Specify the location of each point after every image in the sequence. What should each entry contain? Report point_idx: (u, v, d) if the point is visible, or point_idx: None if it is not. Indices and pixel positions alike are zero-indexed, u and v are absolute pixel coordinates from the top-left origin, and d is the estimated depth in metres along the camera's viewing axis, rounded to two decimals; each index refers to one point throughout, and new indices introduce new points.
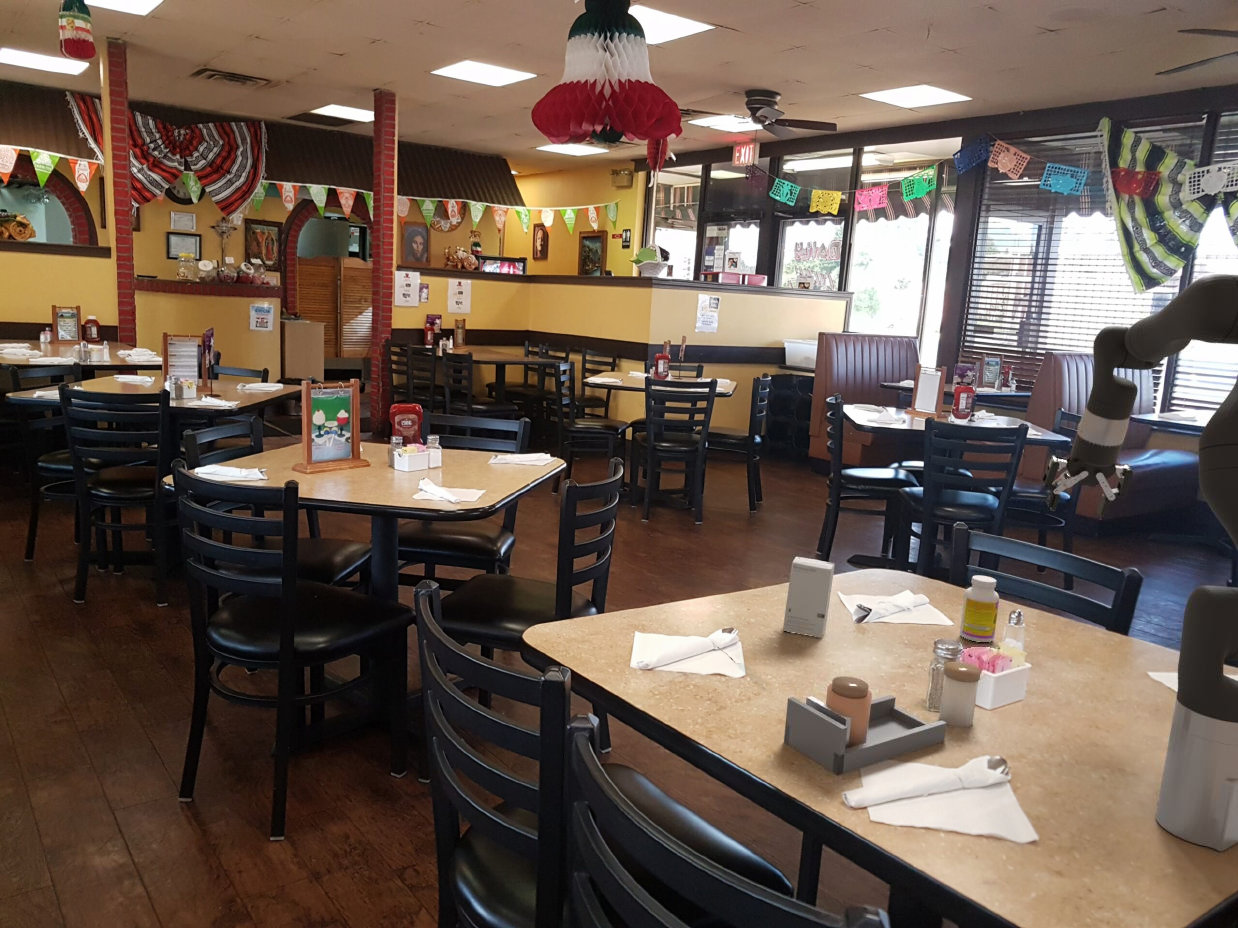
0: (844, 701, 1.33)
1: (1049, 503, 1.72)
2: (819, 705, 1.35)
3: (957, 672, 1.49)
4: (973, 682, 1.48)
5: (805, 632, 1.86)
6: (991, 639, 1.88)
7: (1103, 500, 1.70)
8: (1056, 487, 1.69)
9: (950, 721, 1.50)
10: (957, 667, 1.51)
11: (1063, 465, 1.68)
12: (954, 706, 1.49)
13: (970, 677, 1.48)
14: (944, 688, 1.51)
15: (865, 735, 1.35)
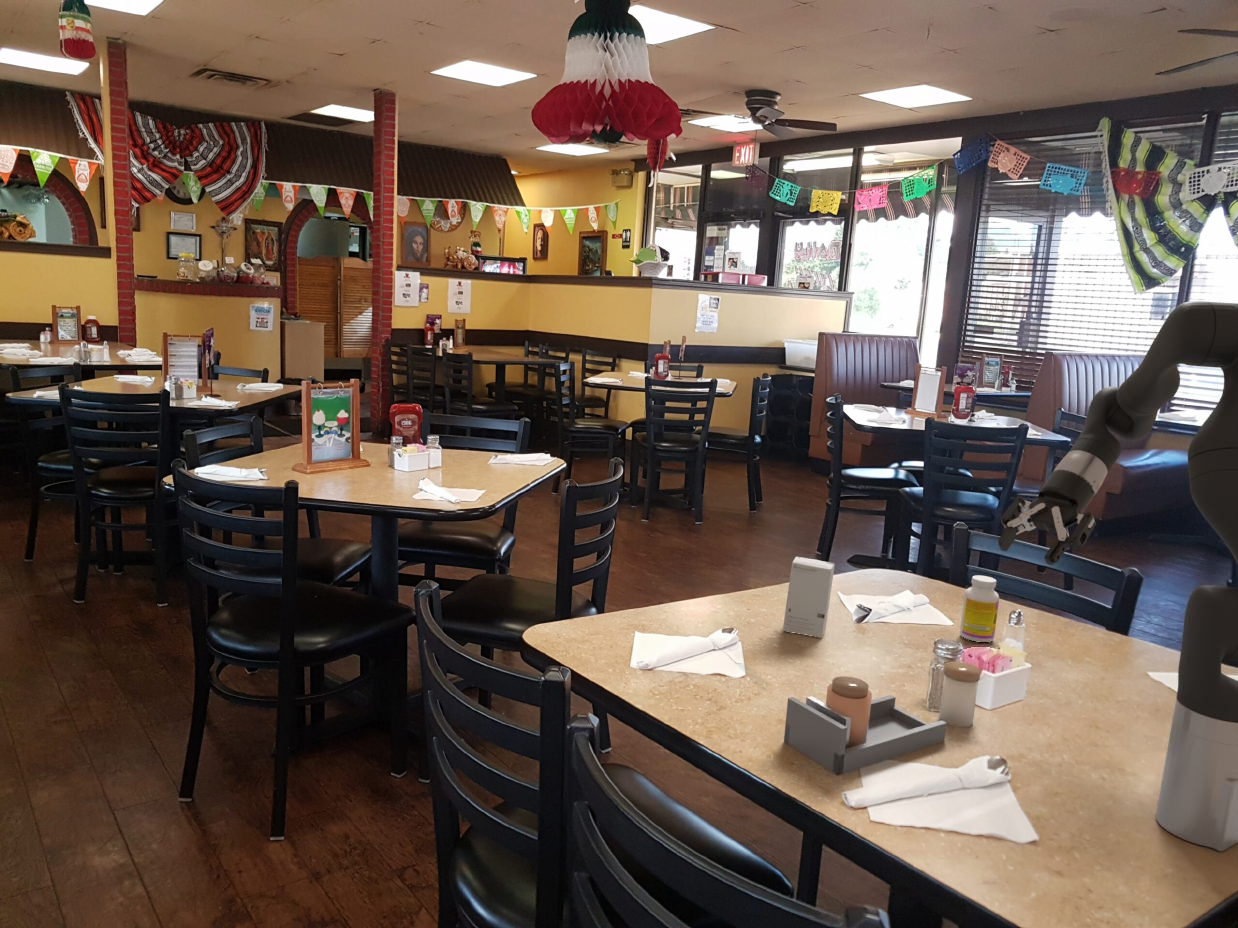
0: (844, 701, 1.33)
1: (1000, 538, 1.58)
2: (819, 705, 1.35)
3: (957, 672, 1.49)
4: (973, 682, 1.48)
5: (805, 632, 1.86)
6: (991, 639, 1.88)
7: None
8: None
9: (950, 721, 1.50)
10: (957, 667, 1.51)
11: (1027, 504, 1.60)
12: (954, 706, 1.49)
13: (970, 677, 1.48)
14: (944, 688, 1.51)
15: (865, 735, 1.35)
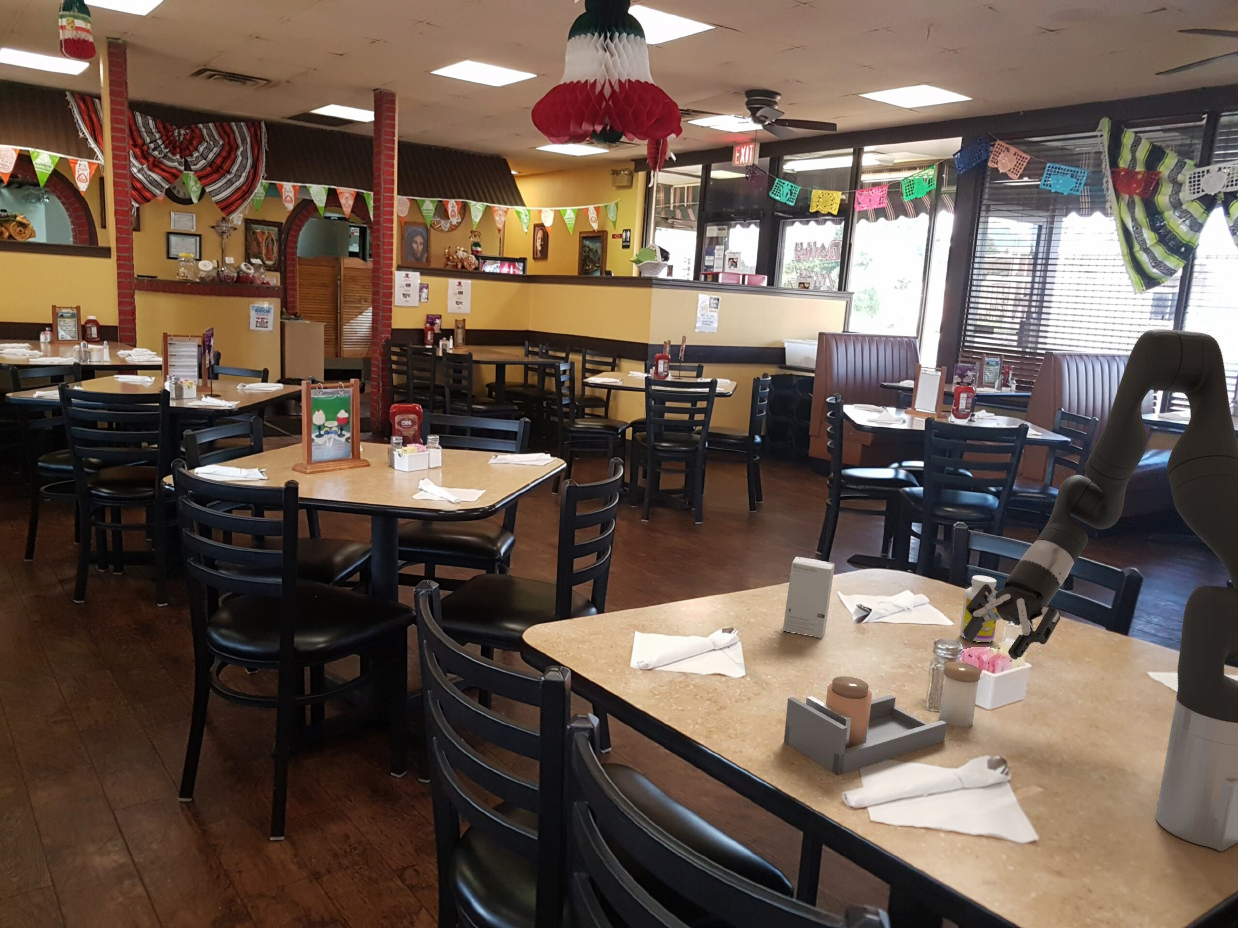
0: (844, 701, 1.33)
1: (965, 628, 1.58)
2: (819, 705, 1.35)
3: (957, 672, 1.49)
4: (973, 682, 1.48)
5: (805, 632, 1.86)
6: (991, 639, 1.88)
7: None
8: None
9: (950, 721, 1.50)
10: (957, 667, 1.51)
11: (994, 593, 1.59)
12: (954, 706, 1.49)
13: (970, 677, 1.48)
14: (944, 688, 1.51)
15: (865, 735, 1.35)
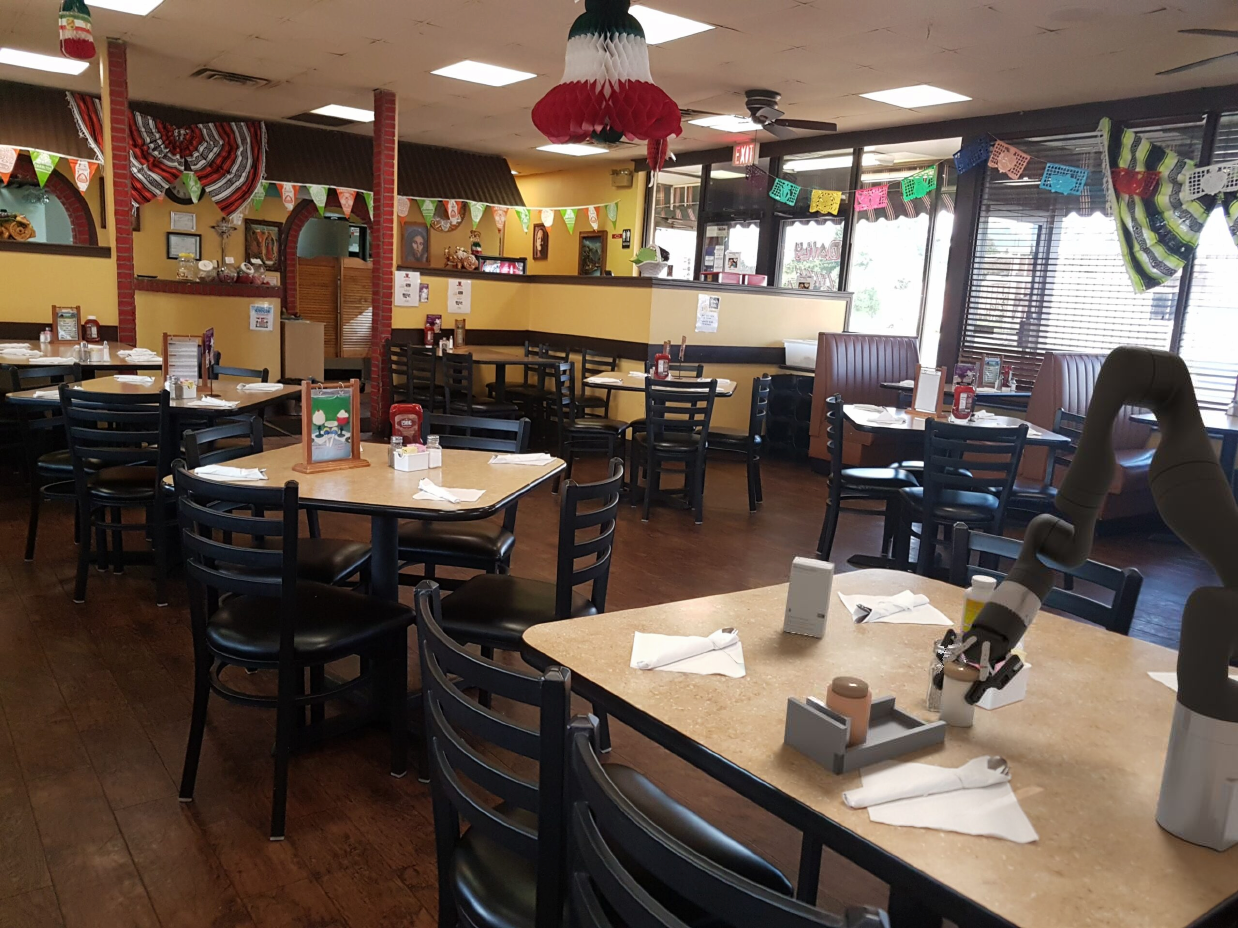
0: (844, 701, 1.33)
1: (935, 676, 1.53)
2: (819, 705, 1.35)
3: (957, 671, 1.49)
4: (973, 682, 1.48)
5: (805, 632, 1.86)
6: None
7: None
8: None
9: (950, 721, 1.50)
10: (957, 667, 1.51)
11: (959, 637, 1.56)
12: (954, 706, 1.49)
13: (970, 677, 1.48)
14: (944, 688, 1.51)
15: (865, 735, 1.35)
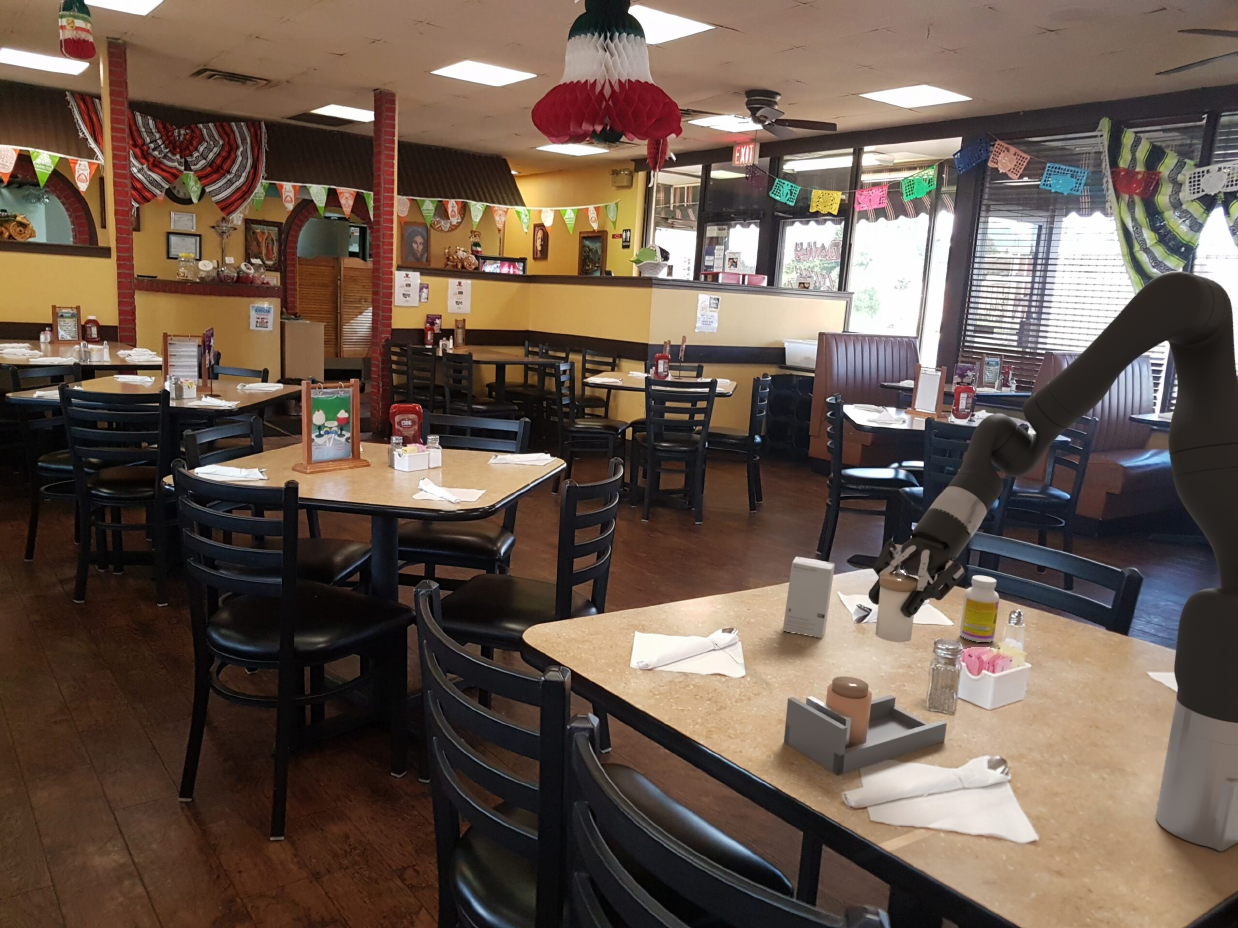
0: (844, 701, 1.33)
1: (871, 589, 1.41)
2: (819, 705, 1.35)
3: (892, 581, 1.36)
4: (910, 593, 1.36)
5: (805, 632, 1.86)
6: (991, 639, 1.88)
7: None
8: None
9: (886, 636, 1.37)
10: (894, 577, 1.38)
11: (899, 548, 1.44)
12: (889, 619, 1.37)
13: (906, 586, 1.35)
14: (880, 601, 1.38)
15: (865, 735, 1.35)
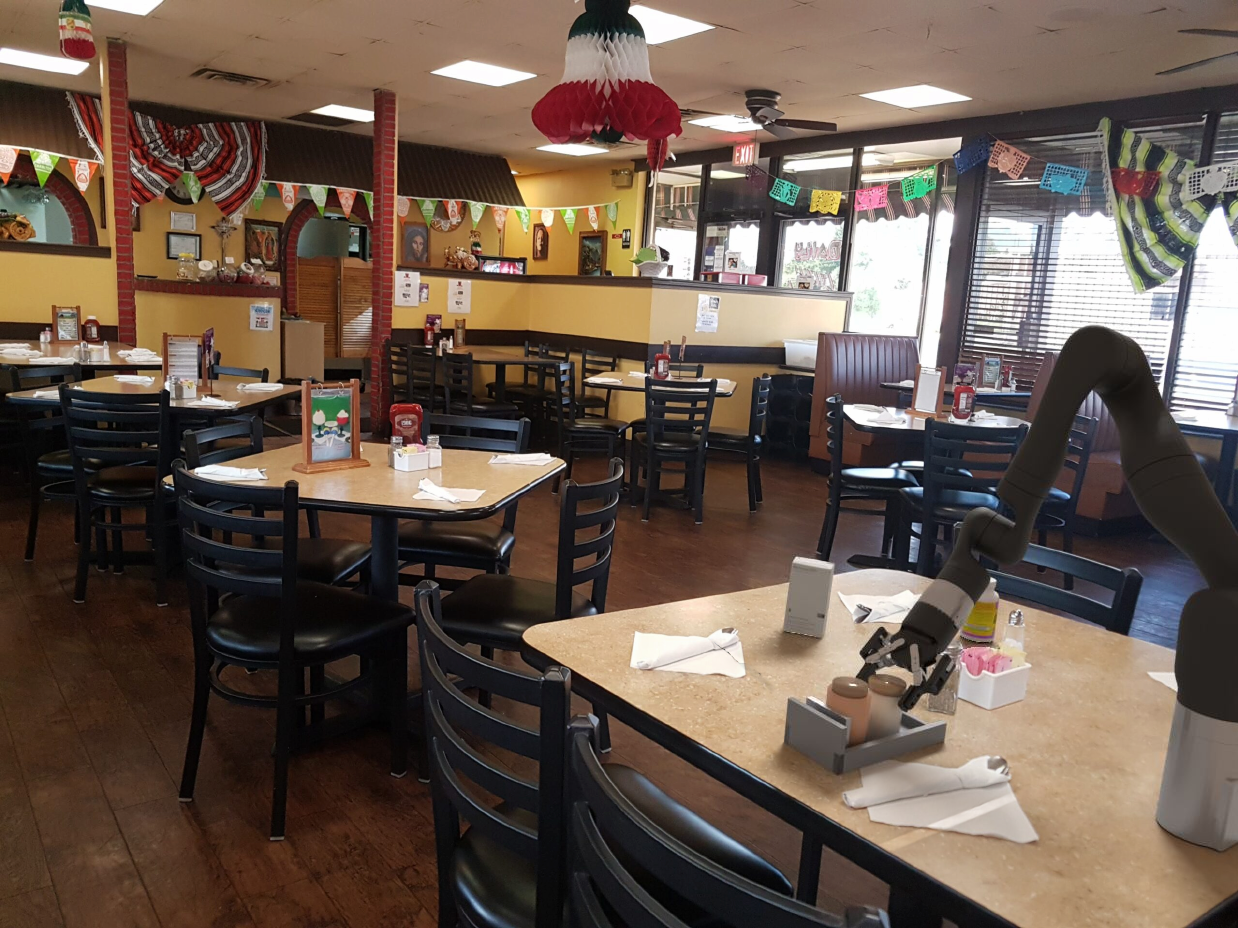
0: (844, 701, 1.33)
1: (857, 675, 1.44)
2: (819, 705, 1.35)
3: (881, 685, 1.39)
4: (898, 697, 1.38)
5: (805, 632, 1.86)
6: (991, 639, 1.88)
7: None
8: None
9: (874, 738, 1.40)
10: (882, 680, 1.41)
11: (889, 637, 1.46)
12: (878, 722, 1.39)
13: (894, 691, 1.38)
14: None
15: (865, 735, 1.35)
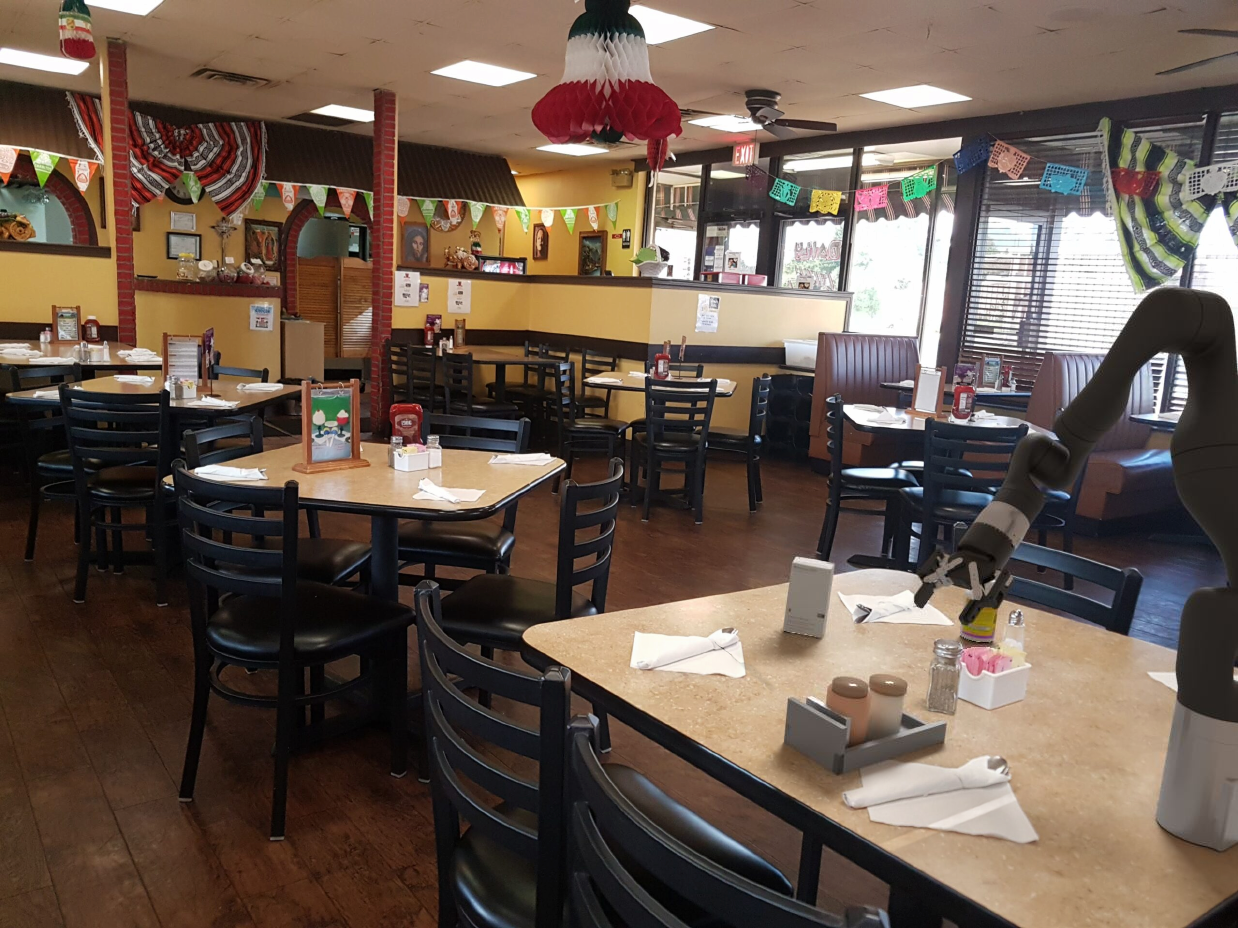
0: (844, 701, 1.33)
1: (916, 594, 1.49)
2: (819, 705, 1.35)
3: (881, 685, 1.39)
4: (899, 697, 1.39)
5: (805, 632, 1.86)
6: (991, 639, 1.88)
7: None
8: None
9: (874, 738, 1.40)
10: (883, 680, 1.41)
11: (946, 558, 1.50)
12: (878, 722, 1.39)
13: (895, 691, 1.38)
14: None
15: (865, 735, 1.35)
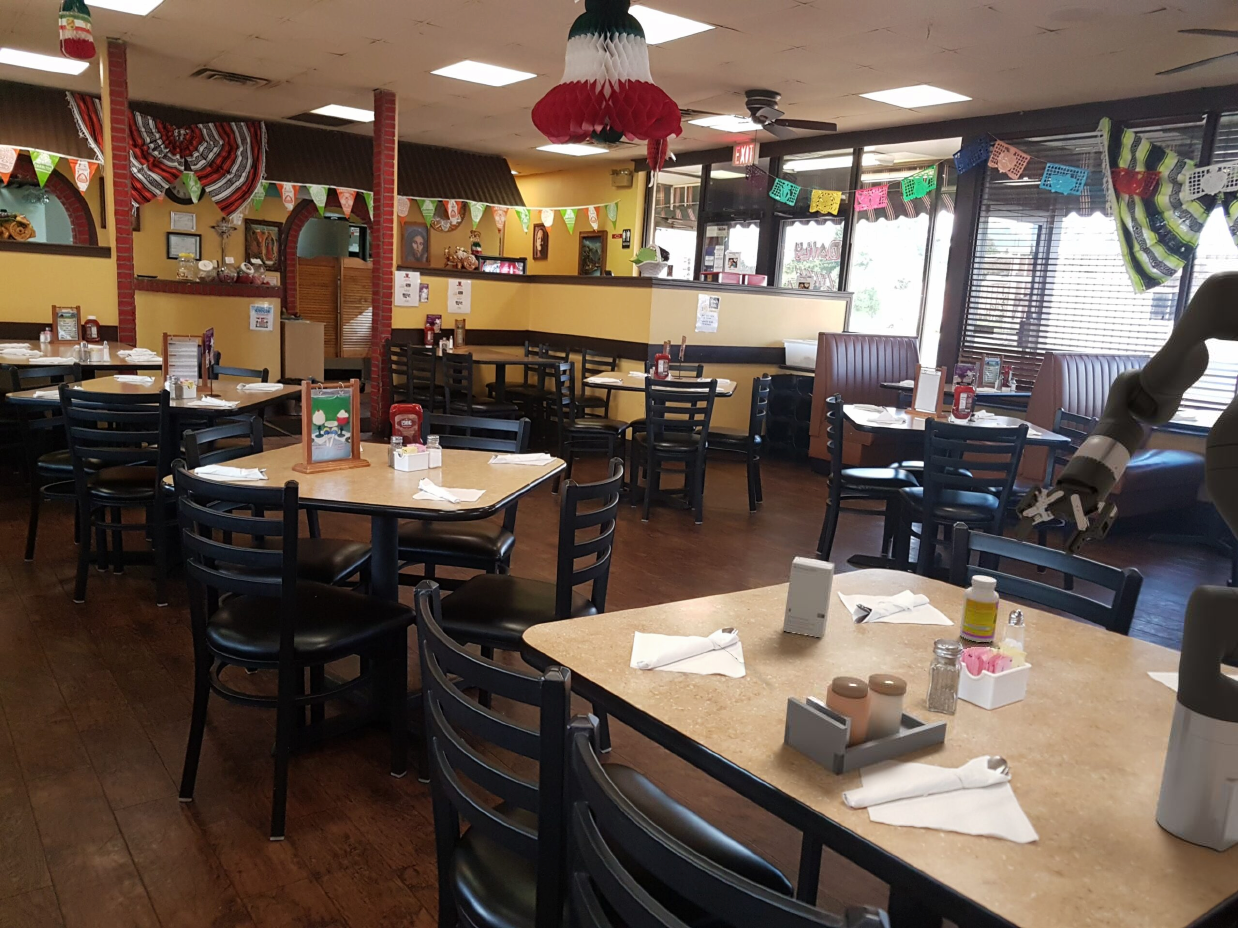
0: (844, 701, 1.33)
1: (1015, 528, 1.49)
2: (819, 705, 1.35)
3: (880, 684, 1.39)
4: (898, 696, 1.39)
5: (805, 632, 1.86)
6: (991, 639, 1.88)
7: None
8: None
9: (874, 738, 1.40)
10: (882, 679, 1.41)
11: (1044, 493, 1.51)
12: (877, 721, 1.40)
13: (894, 690, 1.38)
14: None
15: (865, 735, 1.35)
